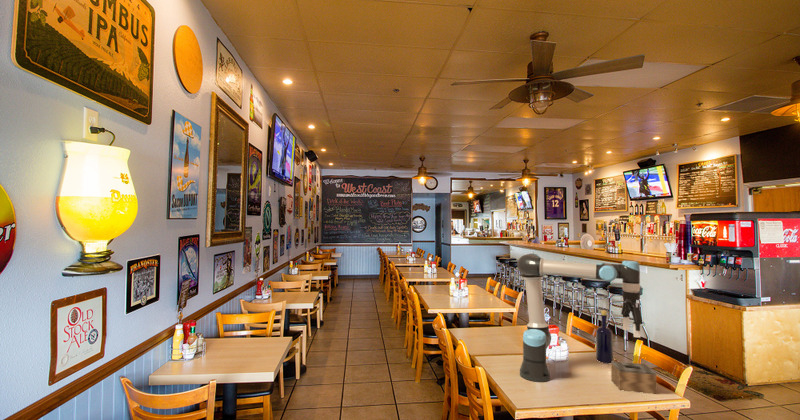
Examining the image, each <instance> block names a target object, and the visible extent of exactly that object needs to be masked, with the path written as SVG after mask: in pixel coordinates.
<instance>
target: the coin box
mask: <svg viewBox="0 0 800 420" xmlns="http://www.w3.org/2000/svg"><path fill="white" fill-rule="evenodd" d="M610 366H611V368H610V370H611V372H610V373H611V375H610V377H611V382H612V384H614V386H615V387H616V388H617V387H618V388H617V389H618V390H619V391H621V390H624V391H623V392H631V391H634V392H633V393H640V392H643V394H650V393H653V394H652V395H657V372H655V371H654V370H653V369H652V368H650V367H649V366H648V365H647V364H645V363H636V362H635V363H633V362H626V361H625V362H624V361H614V360H613V361H611V364H610Z"/></svg>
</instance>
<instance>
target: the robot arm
mask: <svg viewBox="0 0 800 420" xmlns="http://www.w3.org/2000/svg"><path fill="white" fill-rule="evenodd" d="M517 269H518V270H519V272H520V273H521V278H522V279H523V280H524V283H525V291H526V301H527V302H526V303H527V309H528V322H527V324H526V329H527V330H524V331H523V333H522V334H523V335H522V362H521V364H520V368H519V376H520V377H521V378H523V379H525V380H527V381H532V382H538V383H542V382H543V383H544V382H548V381H549V380H550V378H551V377H550V370H549V368H548V365H547V349H548V347H549V346H550V345H551V341H552V335H551V332H550V328H549V326H550V325H549V324H548V323H547V322H546V317H545V307H544V299H543V290H542V289H543V288H542V279H543V278H544V275H549V276H550V275H551V276H557V277H558V276H561V277H569V278H570V277H572V278H579V279H580V278H581V279H589V280H590V279H591V280H598V281H599V280H602V281H605V282H613V281H615V280H617V279H620V280H622V284H621V285H622V286H621V287H622V299H623V300H622V301H623V302H622V303H623V304H622V308H621V313H620V314H621V315H622V317H623V318H622V320H623V321H622V322H623V323H622V325H623V327H622V329H623V331H630V314H631V315H632V318H633V322H632V324H633V338H641V324H642V325H643V324H644V323H643V318H642V312H641V307H640V303H638V302H637V301H640V299H641V293H640V290H641V286H642V285H641V283H640V282H641V281H640V280H641V276H640V275H641V274H640V272H641V271H640V263H639V262H638V261H637V260H636V261H635V260H622V262H621V264H620V263H618V264H617V263H605V262H598V263H596V264H595V263H583V262H572V261H562V260H561V261H560V260H548V259H544V258H543V257H541V256H539V255H538V254H536V253H527V254H523V255H522V256H520V257H519V258H518V260H517Z"/></svg>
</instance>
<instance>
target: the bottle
mask: <svg viewBox="0 0 800 420" xmlns="http://www.w3.org/2000/svg"><path fill="white" fill-rule="evenodd" d="M607 313H608V312H607V310H601V313H600V316H601V317H600V320H601V326H599V327H597V328H596V329H595V339H596V340H595V355H596V356H595V359H597V360H598V361H600V362H599V363H602V362H603V364H608V363H611V361H614V349H613V348H614V345H613V343H614V341H613V339H614V337H613V330H611V328H609V327H607V326H608V323H607V319H608V318H607V317H608V314H607ZM597 360H596V361H597ZM598 361H597V362H598Z"/></svg>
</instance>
